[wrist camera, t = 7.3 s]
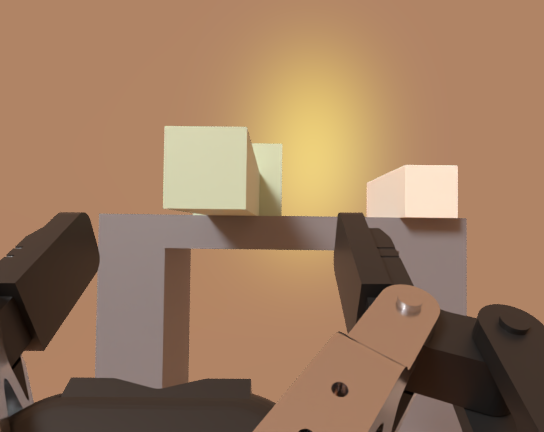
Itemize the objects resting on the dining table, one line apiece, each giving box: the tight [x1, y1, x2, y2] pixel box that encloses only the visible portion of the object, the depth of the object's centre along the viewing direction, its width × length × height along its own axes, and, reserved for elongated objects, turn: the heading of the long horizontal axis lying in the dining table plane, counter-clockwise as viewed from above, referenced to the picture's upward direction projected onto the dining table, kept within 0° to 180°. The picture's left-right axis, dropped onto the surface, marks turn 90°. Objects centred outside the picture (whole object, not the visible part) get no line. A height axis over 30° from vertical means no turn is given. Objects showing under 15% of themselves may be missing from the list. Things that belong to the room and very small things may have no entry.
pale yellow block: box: [163, 126, 282, 216], centre depth 22 cm, size 6×16×5 cm, turn 0°
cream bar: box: [367, 165, 458, 218], centre depth 26 cm, size 3×9×3 cm, turn 0°
